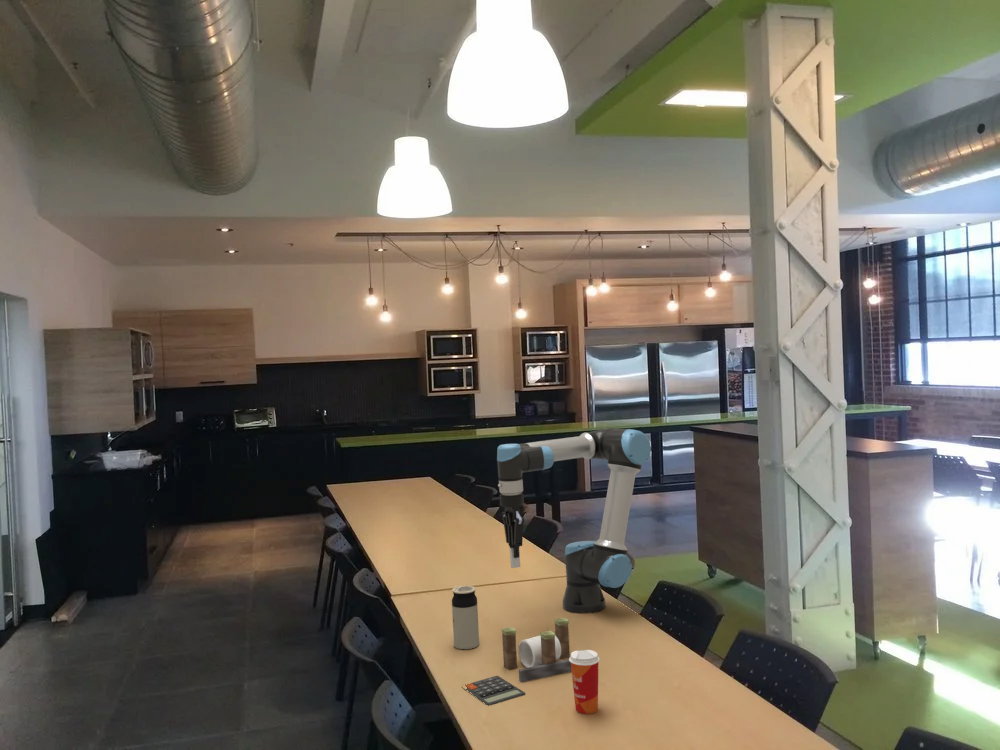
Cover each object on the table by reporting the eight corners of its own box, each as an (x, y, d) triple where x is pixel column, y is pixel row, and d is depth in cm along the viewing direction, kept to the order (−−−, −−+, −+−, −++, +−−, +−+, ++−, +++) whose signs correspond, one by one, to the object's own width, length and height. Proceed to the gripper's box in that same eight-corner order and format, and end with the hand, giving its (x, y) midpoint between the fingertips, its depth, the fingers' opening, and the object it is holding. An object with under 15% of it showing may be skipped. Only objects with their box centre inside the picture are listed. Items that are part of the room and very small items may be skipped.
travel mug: (482, 642, 253) (480, 585, 253) (474, 651, 246) (471, 593, 245) (459, 640, 256) (456, 584, 256) (450, 649, 248) (447, 591, 248)
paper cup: (569, 703, 205) (566, 650, 205) (598, 701, 206) (595, 647, 205) (574, 717, 197) (571, 661, 197) (605, 714, 198) (602, 658, 197)
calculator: (497, 674, 225) (525, 692, 212) (497, 678, 225) (526, 695, 212) (460, 685, 219) (487, 703, 206) (461, 688, 219) (488, 707, 206)
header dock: (565, 653, 240) (563, 617, 240) (585, 668, 228) (584, 630, 227) (503, 666, 232) (501, 628, 232) (520, 682, 220) (519, 642, 220)
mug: (562, 663, 233) (561, 636, 233) (534, 672, 227) (533, 644, 227) (537, 652, 243) (536, 626, 242) (510, 660, 237) (509, 633, 237)
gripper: (492, 491, 257) (497, 564, 257) (508, 497, 244) (512, 573, 245) (514, 489, 259) (518, 560, 260) (530, 494, 247) (534, 569, 248)
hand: (515, 567), depth 252 cm, fingers closed
